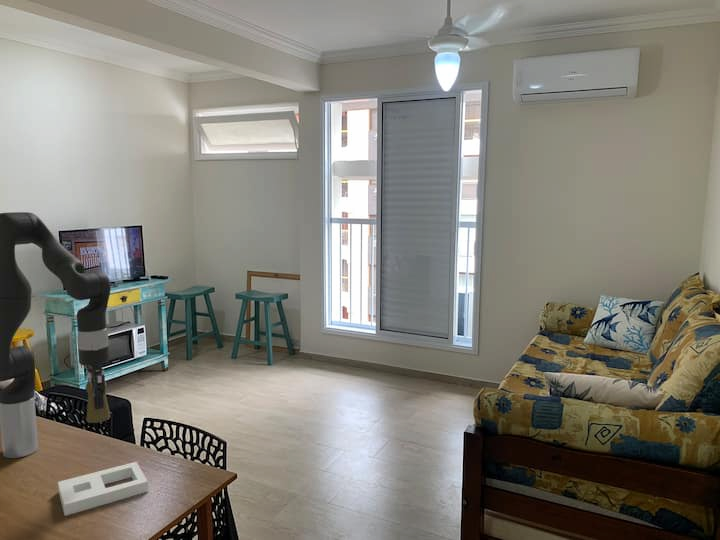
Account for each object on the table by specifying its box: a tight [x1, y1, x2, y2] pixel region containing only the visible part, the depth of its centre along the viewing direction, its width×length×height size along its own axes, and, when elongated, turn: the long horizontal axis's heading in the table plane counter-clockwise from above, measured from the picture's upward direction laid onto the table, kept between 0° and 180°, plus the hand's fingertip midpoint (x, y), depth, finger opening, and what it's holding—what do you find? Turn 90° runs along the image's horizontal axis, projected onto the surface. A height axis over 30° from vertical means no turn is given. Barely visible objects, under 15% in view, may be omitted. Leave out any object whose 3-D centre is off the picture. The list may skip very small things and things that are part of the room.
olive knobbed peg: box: [85, 380, 111, 424], centre depth 146 cm, size 6×6×11 cm
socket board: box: [57, 461, 149, 516], centre depth 144 cm, size 13×20×3 cm, turn 125°
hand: (97, 405), depth 147 cm, fingers closed on olive knobbed peg, 4 cm apart
